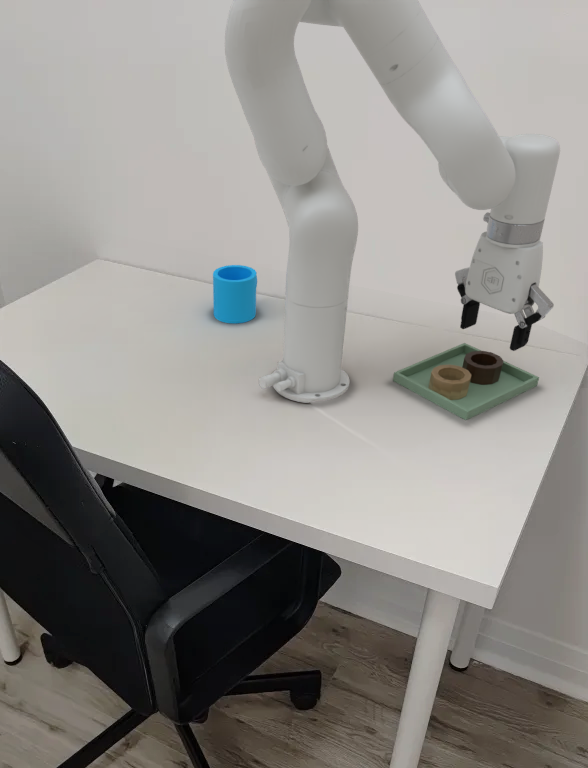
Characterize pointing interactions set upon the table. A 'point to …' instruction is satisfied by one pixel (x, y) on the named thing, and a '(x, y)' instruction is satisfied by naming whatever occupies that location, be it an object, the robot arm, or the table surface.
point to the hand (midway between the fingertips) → (492, 336)
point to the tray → (478, 395)
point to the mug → (234, 293)
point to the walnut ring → (483, 367)
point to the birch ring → (450, 381)
